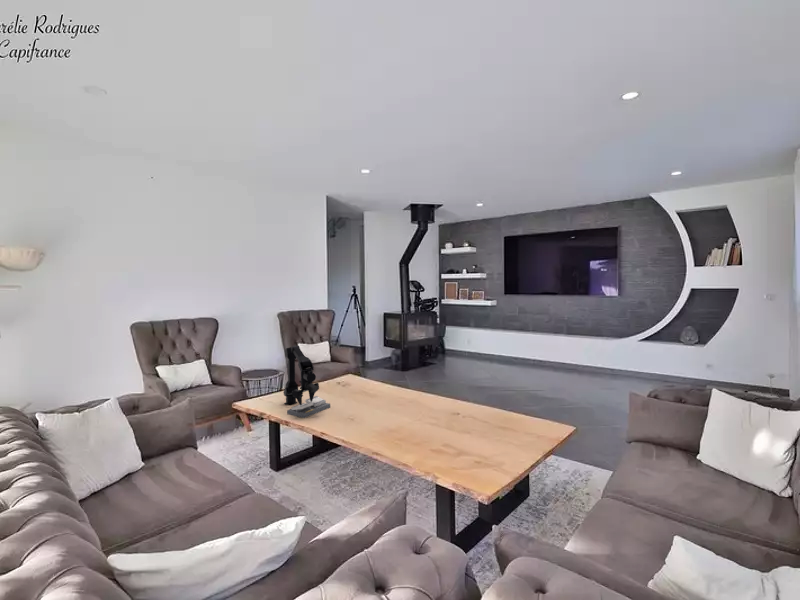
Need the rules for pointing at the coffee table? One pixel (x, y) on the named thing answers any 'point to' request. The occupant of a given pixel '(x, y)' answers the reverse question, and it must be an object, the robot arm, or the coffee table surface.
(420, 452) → the coffee table surface
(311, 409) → the switch unit
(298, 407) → the grey flat slab
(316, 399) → the rocker
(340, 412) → the coffee table surface
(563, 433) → the coffee table surface
